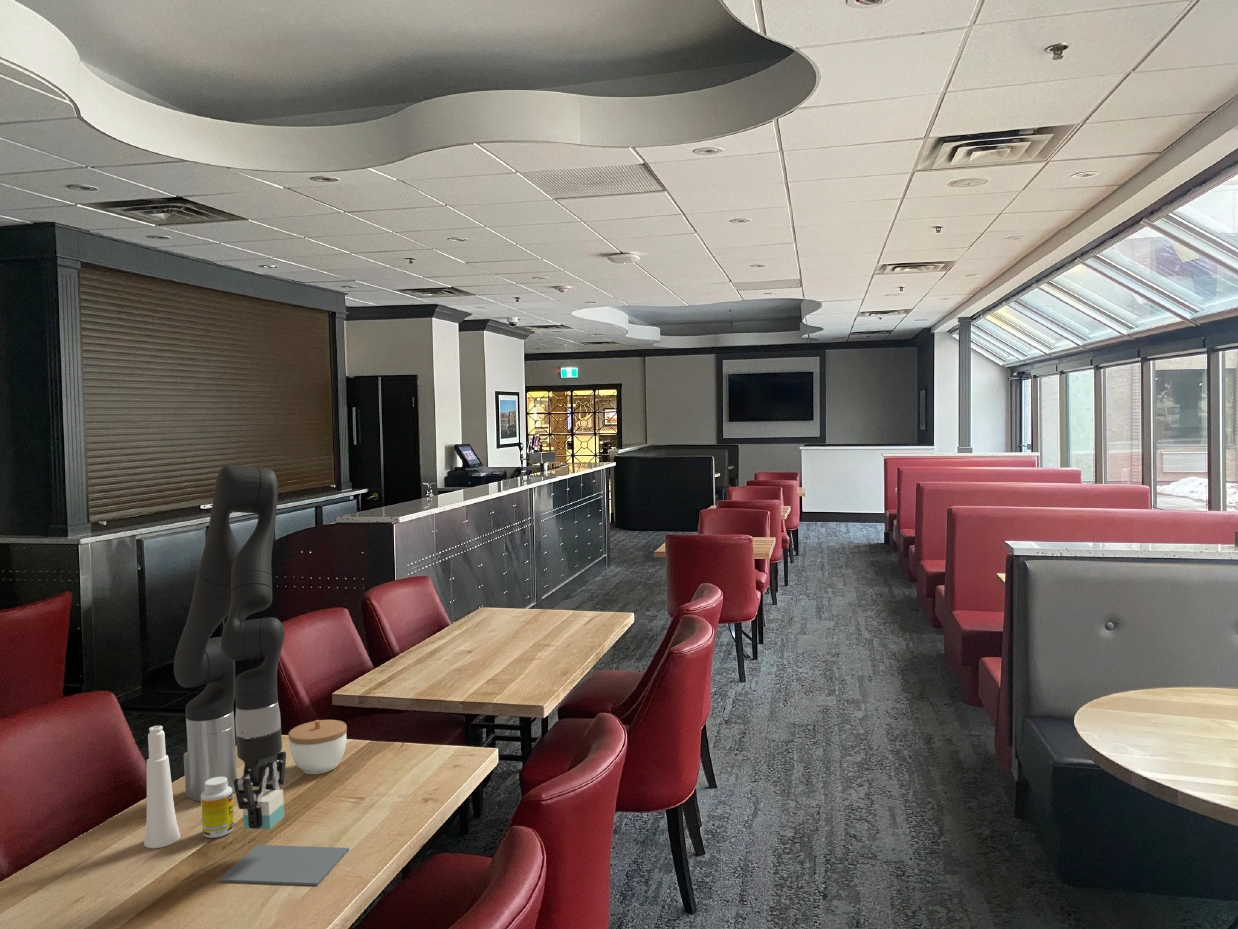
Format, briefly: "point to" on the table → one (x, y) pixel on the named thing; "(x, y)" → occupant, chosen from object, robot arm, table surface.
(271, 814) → the two-tone cube
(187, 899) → the table surface
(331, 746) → the lidded bowl
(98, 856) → the table surface
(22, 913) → the table surface
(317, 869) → the slate rubber mat
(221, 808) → the supplement bottle
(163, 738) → the cosmetic bottle
